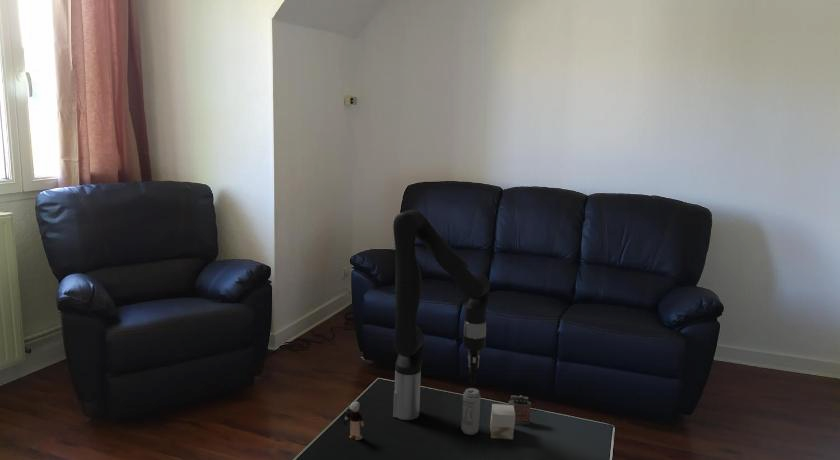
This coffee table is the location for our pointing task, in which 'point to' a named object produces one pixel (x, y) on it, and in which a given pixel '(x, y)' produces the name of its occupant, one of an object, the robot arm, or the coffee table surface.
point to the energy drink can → (470, 411)
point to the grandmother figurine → (355, 421)
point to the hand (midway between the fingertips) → (472, 378)
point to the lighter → (521, 409)
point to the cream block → (503, 415)
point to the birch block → (501, 432)
